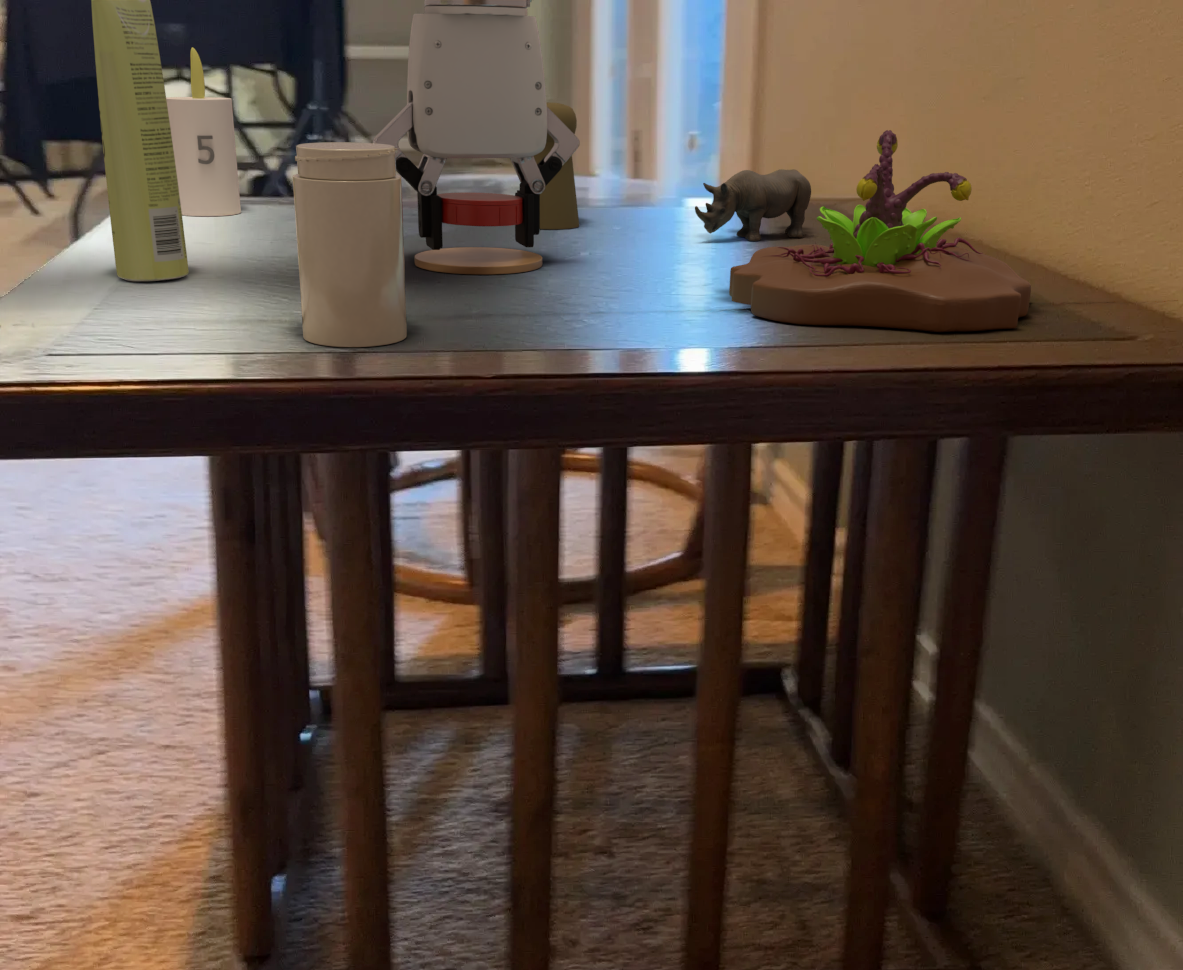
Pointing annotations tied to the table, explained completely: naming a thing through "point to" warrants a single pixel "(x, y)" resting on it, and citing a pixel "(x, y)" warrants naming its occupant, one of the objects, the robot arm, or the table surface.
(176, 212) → the tube
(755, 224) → the rhino figurine
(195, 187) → the candle
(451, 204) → the lid
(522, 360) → the table surface
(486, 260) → the coaster
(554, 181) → the pepper shaker
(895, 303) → the plant
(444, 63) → the robot arm
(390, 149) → the jar
